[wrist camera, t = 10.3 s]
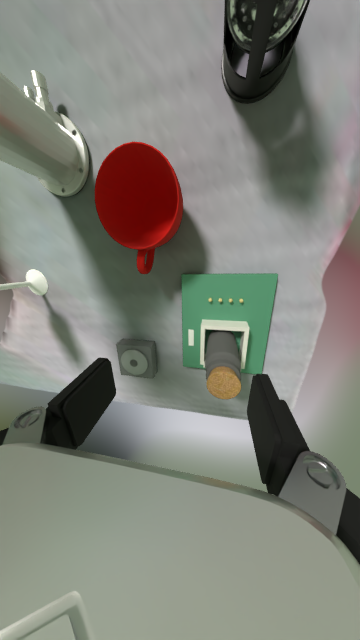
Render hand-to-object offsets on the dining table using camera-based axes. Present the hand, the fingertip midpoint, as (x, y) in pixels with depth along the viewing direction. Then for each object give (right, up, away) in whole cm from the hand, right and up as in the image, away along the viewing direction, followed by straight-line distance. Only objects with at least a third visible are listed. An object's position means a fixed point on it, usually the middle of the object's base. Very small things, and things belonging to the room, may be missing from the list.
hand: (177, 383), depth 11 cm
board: (+10, +3, +27) cm, 29 cm away
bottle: (+9, 0, +27) cm, 28 cm away
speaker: (-11, -5, +34) cm, 36 cm away
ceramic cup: (-4, +23, +23) cm, 33 cm away
